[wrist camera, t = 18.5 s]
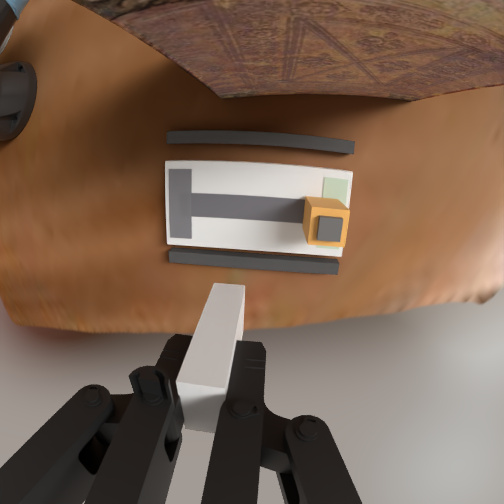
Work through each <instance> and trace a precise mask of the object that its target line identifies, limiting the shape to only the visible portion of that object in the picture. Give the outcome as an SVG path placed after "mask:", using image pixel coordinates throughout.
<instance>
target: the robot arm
mask: <svg viewBox="0 0 504 504" xmlns="http://www.w3.org/2000/svg"><path fill="white" fill-rule="evenodd" d="M28 1H29V0H0V47H1V45H2V44H3V42H4V40H5V38H6V37H7V35H8V33H9V32H10V30H11V28H12V27H13V25H14V23H15V22H16V20H18V19H19V17H20V14H21V12H22V11H23V9H24V7H25V6H26V4H27V3H28ZM36 91H37V79H36V73H35V70H34V68H33V67H32V65H31V64H29V63H27V62H22V61H13V62H9V63H6V64H2V65H0V141H5V140H10V139H13V138H14V137H16V136H17V135H18V134H19V133H20V132H21V131H22V130H23V128H24V127H25V125H26V123H27V121H28V119H29V117H30V115H31V112H32V109H33V106H34V102H35V98H36ZM244 299H245V285H233V284H221V283H214V285H213V287H212V290H211V292H210V295H209V297H208V300H207V302H206V305H205V307H204V310H203V312H202V315H201V317H200V320H199V322H198V325H197V328H196V330H195V333H194V335H193V336H188V335H181V334H175V335H174V336H173V337H171V338H170V339H169V340H168V341H167V343H166V345H165V347H164V349H163V351H162V353H161V355H160V358H159V359H158V361H157V364H156V365H155V366H143V367H140V368H137V369H136V370H134V371H132V373H131V374H130V375H129V379H130V382H131V385H132V388H133V391H134V393H132V394H121V395H120V394H116V395H115V394H114V395H112V394H110V393H109V391H108V390H107V389H106V388H105V387H104V386H101V385H88V386H85V387H83V388H82V389H80V390H79V391H78V392H77V393H76V394H75V395H74V396H73V397H72V398H71V399H70V400H69V401H68V402H66V403H65V405H64V406H62V408H60V409H59V410H58V411H57V412H56V413H55V414H54V415H53V416H52V417H51V418H50V419H49V420H48V421H47V422H46V423H45V424H44V425H43V426H42V427H41V428H40V429H39V430H38V431H37V432H36V433H35V434H34V435H33V436H32V437H31V438H30V439H29V440H28V441H27V442H26V443H25V444H24V445H23V446H22V447H21V448H20V449H19V450H18V451H17V452H16V453H15V454H14V455H13V456H12V457H11V458H10V459H9V460H8V461H7V462H6V463H5V464H4V465H3V466H2V467H1V468H0V504H82V503H83V502H84V501H85V503H84V504H165V501H166V498H167V494H168V490H169V486H170V483H171V479H172V475H173V472H174V468H175V465H176V460H177V457H178V454H179V450H180V446H181V443H182V433H181V429H182V427H183V423H184V425H185V429H190V430H196V431H203V432H209V433H215V436H214V441H213V447H212V451H211V456H210V461H209V466H208V471H207V477H206V481H205V486H204V491H203V496H202V501H201V504H257V496H258V484H259V472H260V466H261V467H264V468H267V469H270V470H273V471H276V474H277V478H278V481H279V485H280V488H281V492H282V496H283V499H284V503H285V504H362V502H361V500H360V497H359V495H358V493H357V491H356V488H355V486H354V484H353V482H352V479H351V477H350V475H349V473H348V470H347V468H346V466H345V464H344V461H343V459H342V457H341V455H340V452H339V450H338V448H337V446H336V443H335V441H334V439H333V437H332V434H331V432H330V430H329V428H328V426H327V425H326V423H325V422H324V421H323V420H321V419H320V418H318V417H315V416H311V415H301V416H298V417H295V418H293V419H292V420H290V419H287V418H283V417H280V416H278V415H276V414H274V413H272V412H271V411H270V410H269V409H268V408H267V407H266V405H265V403H264V383H265V363H266V350H265V348H264V346H263V344H262V343H261V342H253V341H252V342H251V341H242V334H243V322H244Z"/></svg>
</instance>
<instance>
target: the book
mask: <svg viewBox="0 0 504 504" xmlns="http://www.w3.org/2000/svg"><path fill="white" fill-rule="evenodd" d="M72 1H74V2H76V3H78V4H80V5H82V6H83V7H85V8H87V9H89V10H91V11H93V12H95V13H96V14H98V15H100V16H102V17H103V18H105V19H107V20H109V21H110V22H112V23H114V24H116V25H117V26H119V27H121V28H122V29H124V30H125V31H127V32H129V33H130V34H132V35H133V36H135V37H137V38H138V39H140V40H141V41H143V42H144V43H146V44H147V45H149V46H150V47H152V48H153V49H155V50H156V51H158V52H159V53H161V54H162V55H164V56H165V57H167V58H168V59H170V60H171V61H172V62H174V63H175V64H177V65H178V66H179V67H181V68H182V69H184V70H185V71H186V72H188V73H189V74H190V75H192V76H193V77H194V78H196V79H197V80H198V81H200V82H201V83H202V84H204V85H205V86H206V87H208V88H209V89H210V90H211V91H213V92H214V93H215V94H216V95H218V96H219V97H220V98H222V99H229V98H239V97H251V96H265V95H288V94H333V95H355V96H369V97H380V98H390V99H398V100H406V101H416V100H421V99H425V98H430V97H435V96H439V95H445V94H450V93H455V92H461V91H466V90H473V89H479V88H486V87H493V86H501V85H504V0H72Z"/></svg>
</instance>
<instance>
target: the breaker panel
mask: <svg viewBox="0 0 504 504" xmlns="http://www.w3.org/2000/svg"><path fill="white" fill-rule="evenodd" d="M352 177H353V172H351V171H349V170H341V169H333V168H324V167H314V166H304V165H293V164H281V163H266V162H248V161H223V160H168V161H165V199H166V229H167V244H172V245H186V246H201V247H215V248H229V249H243V250H257V251H271V252H285V253H299V254H312V255H326V256H340V257H341V256H342V250H343V247H333V246H320V245H308V244H307V241H306V238H305V235H304V232H303V229H302V226H303V216H304V206H305V196H311V197H322V198H332V199H338V200H339V201H340V202H341V203H343V204H344V205H345V206H346V207H347V208H348V209H349V202H350V194H351V186H352Z"/></svg>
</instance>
